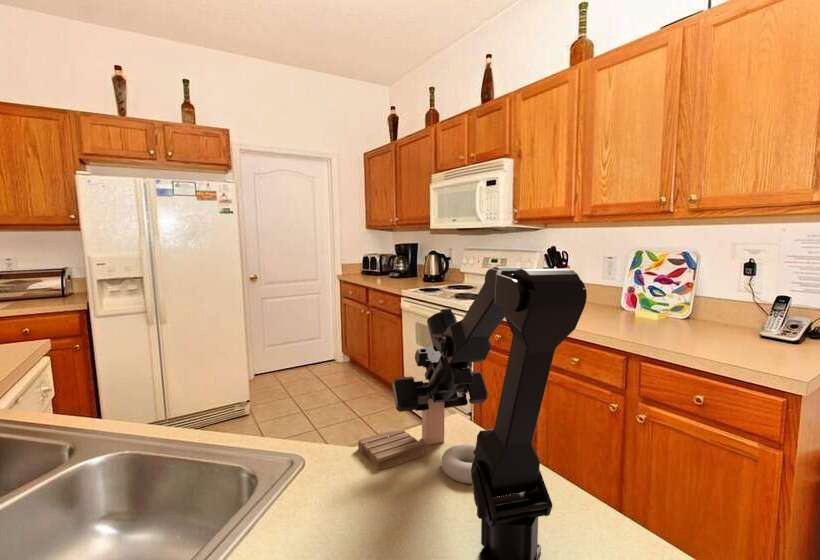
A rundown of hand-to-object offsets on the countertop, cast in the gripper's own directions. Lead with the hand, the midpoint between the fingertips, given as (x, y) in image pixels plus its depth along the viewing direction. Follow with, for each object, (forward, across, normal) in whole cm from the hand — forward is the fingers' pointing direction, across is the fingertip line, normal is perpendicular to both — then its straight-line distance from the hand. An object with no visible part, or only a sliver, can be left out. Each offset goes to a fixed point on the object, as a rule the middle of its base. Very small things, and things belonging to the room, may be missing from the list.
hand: (431, 407), depth 86 cm
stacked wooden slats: (+2, +10, +8) cm, 12 cm away
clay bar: (+4, 0, +6) cm, 7 cm away
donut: (-5, -3, +15) cm, 16 cm away
